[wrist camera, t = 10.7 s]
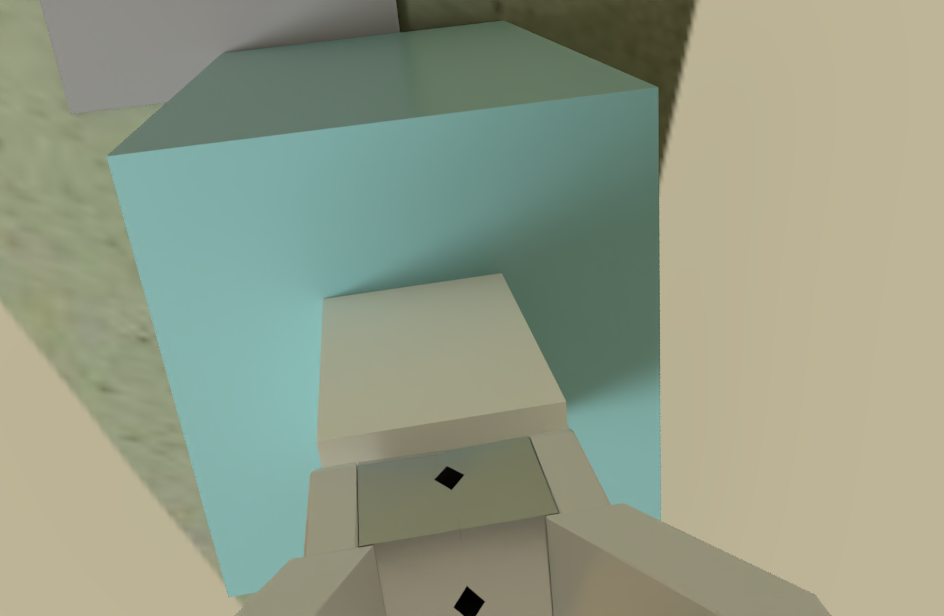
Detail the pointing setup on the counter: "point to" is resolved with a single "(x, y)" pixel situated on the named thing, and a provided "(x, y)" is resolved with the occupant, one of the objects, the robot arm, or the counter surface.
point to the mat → (185, 40)
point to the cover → (397, 265)
